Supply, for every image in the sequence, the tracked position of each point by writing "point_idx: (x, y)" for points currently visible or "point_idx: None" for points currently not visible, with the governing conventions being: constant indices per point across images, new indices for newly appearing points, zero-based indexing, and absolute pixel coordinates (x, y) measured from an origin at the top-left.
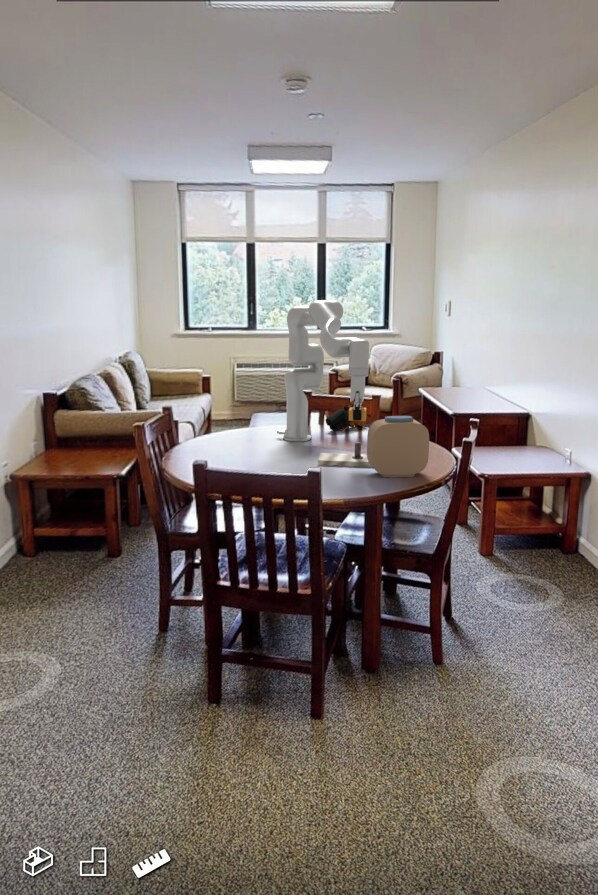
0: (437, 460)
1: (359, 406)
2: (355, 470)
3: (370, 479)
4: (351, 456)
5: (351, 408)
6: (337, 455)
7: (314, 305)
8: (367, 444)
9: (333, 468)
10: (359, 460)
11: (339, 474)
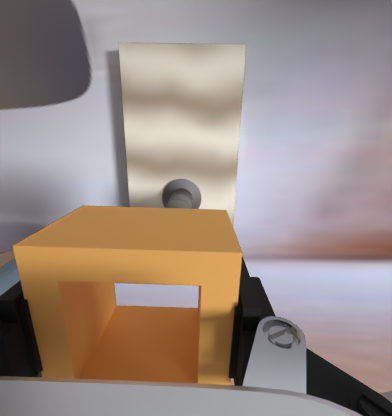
0: (233, 384)
1: (239, 367)
2: (88, 190)
3: (5, 232)
4: (197, 176)
5: (155, 272)
6: (207, 122)
7: None
8: (3, 268)
9: (95, 116)
10: (145, 205)
11: (27, 141)
